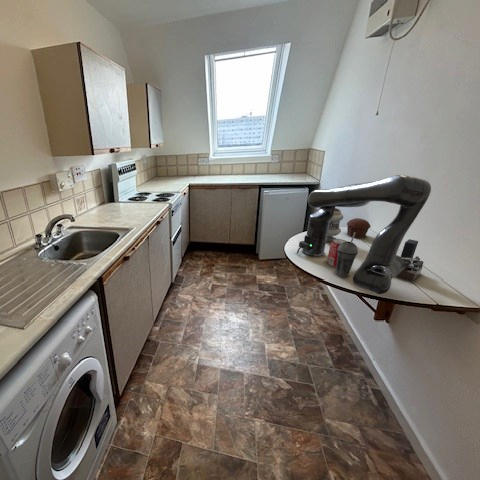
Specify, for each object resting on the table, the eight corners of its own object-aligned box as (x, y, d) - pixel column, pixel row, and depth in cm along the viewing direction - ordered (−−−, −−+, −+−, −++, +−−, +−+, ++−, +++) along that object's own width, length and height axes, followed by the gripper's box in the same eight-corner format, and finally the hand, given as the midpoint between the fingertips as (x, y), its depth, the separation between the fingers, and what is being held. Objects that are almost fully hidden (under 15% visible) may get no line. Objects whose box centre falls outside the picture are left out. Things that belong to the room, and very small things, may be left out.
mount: (412, 281, 110) (415, 274, 108) (382, 272, 118) (384, 265, 116) (420, 273, 115) (422, 266, 114) (390, 265, 123) (393, 258, 122)
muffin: (339, 233, 162) (343, 217, 158) (353, 230, 165) (357, 215, 161) (358, 240, 152) (362, 223, 148) (372, 237, 155) (377, 220, 151)
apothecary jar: (310, 236, 160) (315, 207, 154) (329, 234, 161) (335, 205, 154) (323, 243, 149) (329, 212, 142) (343, 242, 150) (350, 211, 143)
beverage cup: (328, 270, 121) (337, 229, 113) (345, 270, 120) (356, 229, 113) (337, 278, 114) (347, 235, 107) (355, 279, 113) (366, 235, 106)
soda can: (345, 264, 126) (351, 240, 121) (341, 269, 121) (347, 245, 117) (328, 260, 131) (333, 237, 126) (324, 265, 126) (329, 241, 122)
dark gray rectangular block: (395, 273, 116) (405, 242, 111) (399, 270, 119) (409, 239, 113) (403, 276, 114) (414, 244, 108) (407, 272, 116) (418, 241, 111)
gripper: (416, 264, 94) (429, 252, 102) (369, 251, 105) (384, 241, 113) (410, 282, 97) (423, 269, 105) (364, 268, 108) (380, 257, 116)
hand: (403, 255), depth 109 cm, fingers open, 8 cm apart
